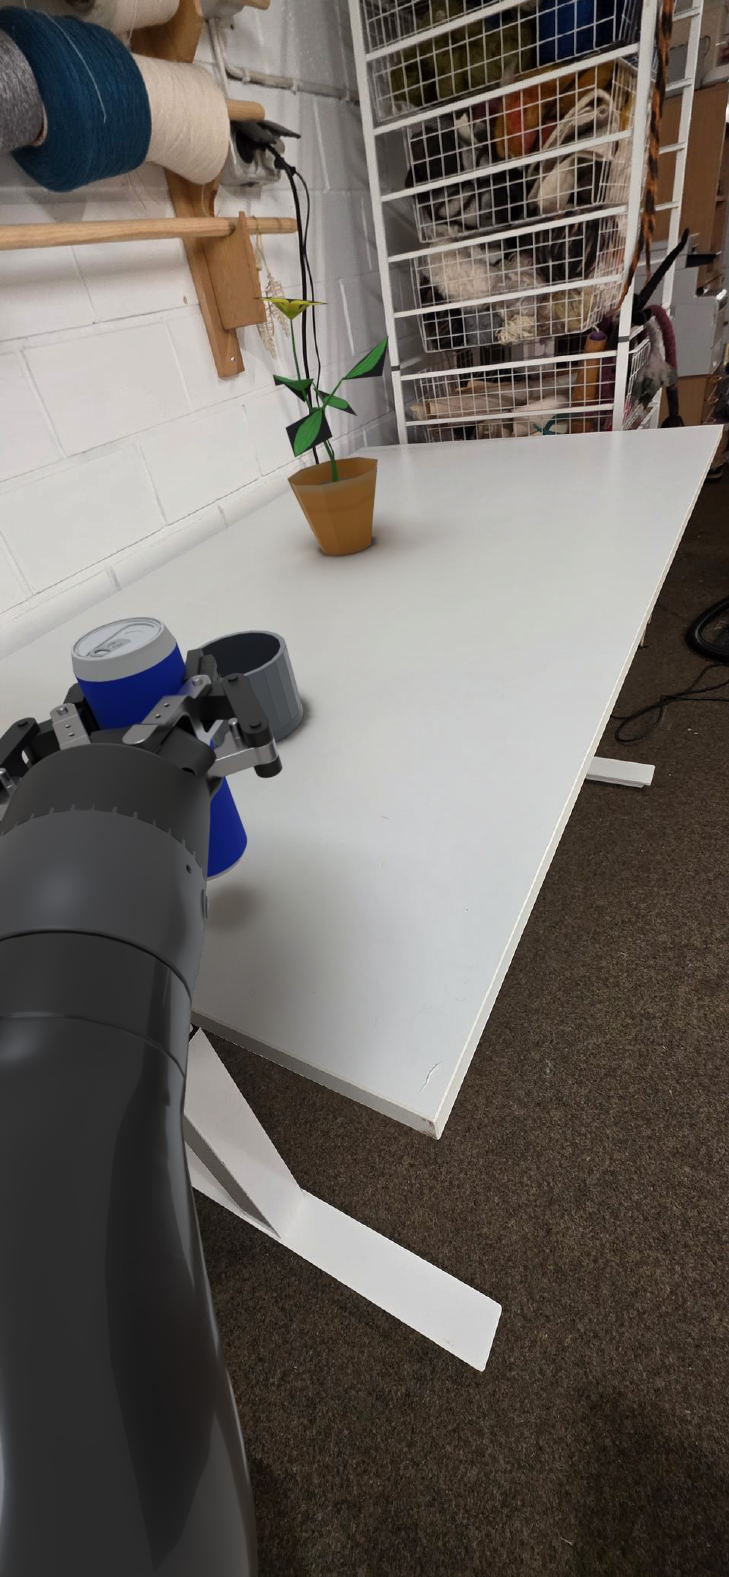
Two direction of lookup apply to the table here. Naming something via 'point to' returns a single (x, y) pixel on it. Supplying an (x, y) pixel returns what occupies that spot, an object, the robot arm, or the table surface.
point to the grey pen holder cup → (260, 676)
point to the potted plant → (331, 457)
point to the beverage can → (149, 706)
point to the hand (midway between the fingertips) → (148, 675)
